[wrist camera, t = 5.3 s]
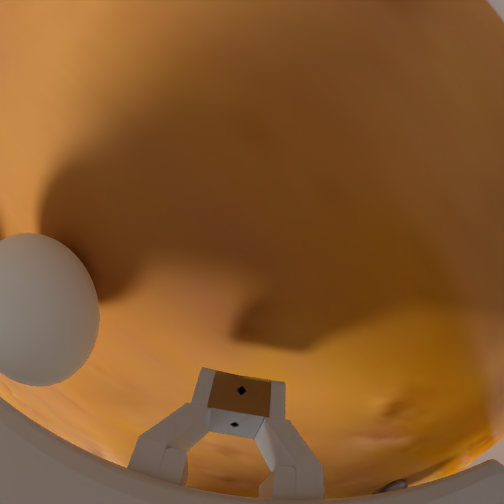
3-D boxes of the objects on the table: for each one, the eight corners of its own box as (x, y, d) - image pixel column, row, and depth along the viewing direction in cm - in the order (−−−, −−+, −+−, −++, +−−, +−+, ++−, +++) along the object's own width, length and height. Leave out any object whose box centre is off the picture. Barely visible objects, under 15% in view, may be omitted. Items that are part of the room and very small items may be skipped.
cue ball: (-35, 336, 6) (54, 319, 11) (11, 436, 4) (119, 388, 9) (-39, 210, 5) (68, 216, 10) (-20, 284, 4) (144, 269, 9)
